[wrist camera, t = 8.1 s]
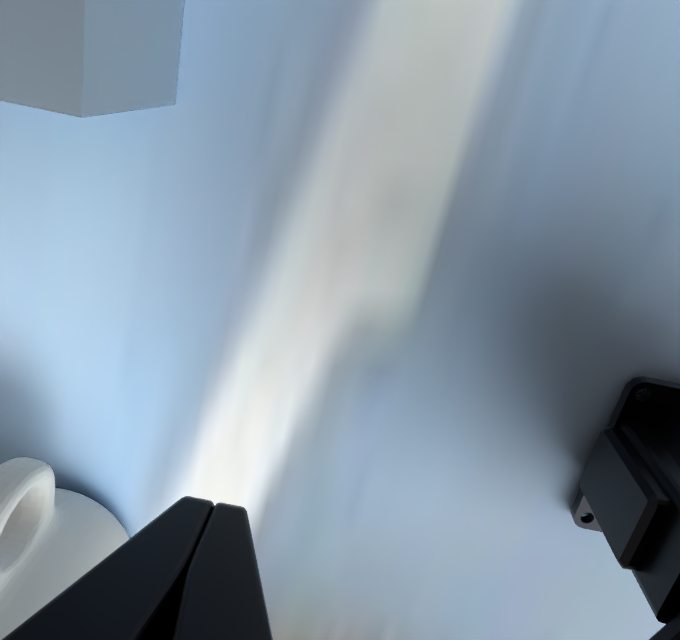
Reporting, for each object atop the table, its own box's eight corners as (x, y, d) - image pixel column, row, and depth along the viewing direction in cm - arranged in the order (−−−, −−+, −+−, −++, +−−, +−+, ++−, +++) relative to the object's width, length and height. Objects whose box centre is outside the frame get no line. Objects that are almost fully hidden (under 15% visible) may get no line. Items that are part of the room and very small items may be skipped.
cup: (-32, 380, 23) (-229, 528, 15) (175, 423, 23) (79, 590, 15) (-24, 587, 27) (-177, 783, 19) (151, 622, 27) (66, 829, 19)
